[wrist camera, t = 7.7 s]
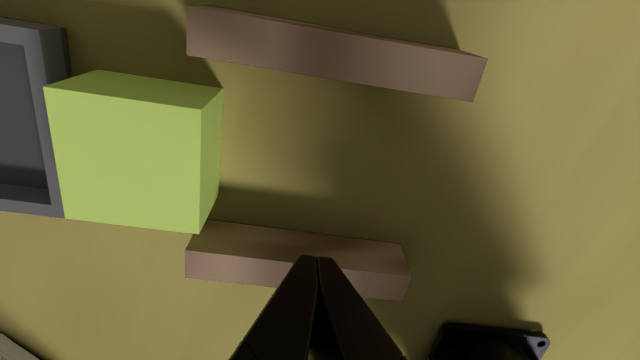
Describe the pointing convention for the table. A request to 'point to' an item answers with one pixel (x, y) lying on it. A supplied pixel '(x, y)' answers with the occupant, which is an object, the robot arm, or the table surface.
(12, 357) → the supplement box
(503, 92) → the table surface
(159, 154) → the lime block
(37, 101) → the trap pit
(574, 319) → the table surface
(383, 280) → the lane rails
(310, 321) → the robot arm
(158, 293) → the table surface
